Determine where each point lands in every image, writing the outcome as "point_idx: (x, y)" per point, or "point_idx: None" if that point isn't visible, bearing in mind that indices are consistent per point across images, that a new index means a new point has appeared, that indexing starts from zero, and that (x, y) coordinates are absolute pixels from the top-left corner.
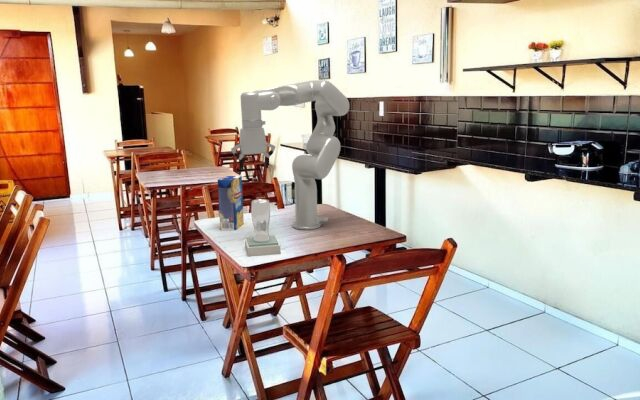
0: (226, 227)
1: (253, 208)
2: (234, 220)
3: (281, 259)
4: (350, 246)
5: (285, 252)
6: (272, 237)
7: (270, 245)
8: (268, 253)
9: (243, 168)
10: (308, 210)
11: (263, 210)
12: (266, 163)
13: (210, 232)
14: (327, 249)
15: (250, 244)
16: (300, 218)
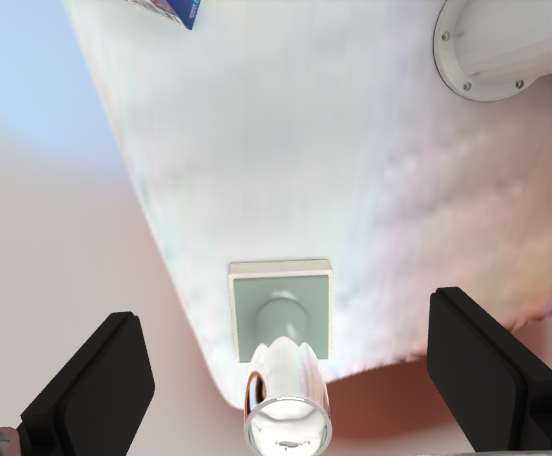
0: (150, 9)
1: (253, 429)
2: (179, 16)
3: None
4: (534, 319)
5: (342, 334)
6: (318, 301)
7: None
8: None
9: (148, 399)
10: (549, 73)
11: (295, 434)
12: (458, 416)
13: (89, 39)
14: None
15: (244, 357)
16: (485, 66)
